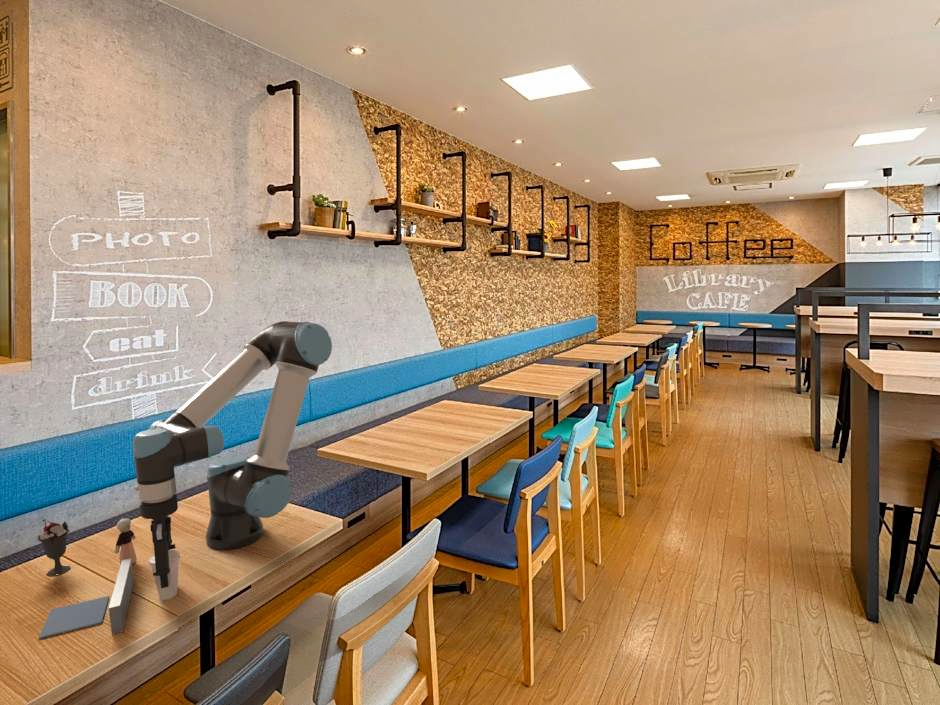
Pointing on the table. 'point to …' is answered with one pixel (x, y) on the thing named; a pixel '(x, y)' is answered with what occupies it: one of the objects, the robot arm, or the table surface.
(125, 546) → the grandmother figurine
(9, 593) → the table surface
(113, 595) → the divider wall
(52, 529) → the sundae
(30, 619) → the table surface
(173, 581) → the smoothie
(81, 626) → the mat
